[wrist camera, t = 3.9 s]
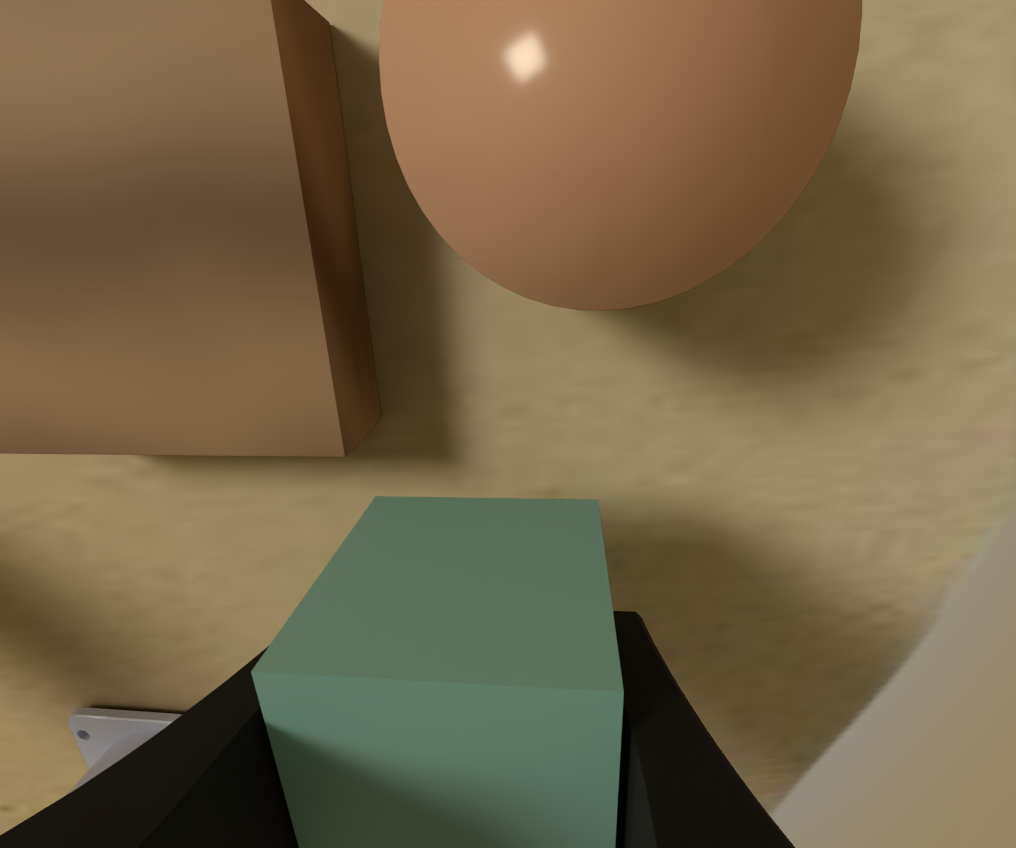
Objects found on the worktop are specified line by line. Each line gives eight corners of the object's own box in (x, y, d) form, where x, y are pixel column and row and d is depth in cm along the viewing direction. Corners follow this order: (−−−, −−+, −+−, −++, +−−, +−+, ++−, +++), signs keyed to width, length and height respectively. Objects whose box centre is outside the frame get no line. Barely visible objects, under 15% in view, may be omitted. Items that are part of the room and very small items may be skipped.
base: (380, 419, 14) (344, 456, 12) (85, 418, 15) (-3, 453, 13) (329, 22, 11) (264, -35, 9) (-42, 54, 12) (-190, 11, 10)
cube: (592, 676, 12) (610, 929, 7) (399, 665, 12) (312, 898, 8) (597, 500, 10) (623, 692, 6) (375, 496, 10) (251, 672, 6)
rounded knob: (717, 275, 12) (819, 302, 7) (464, 287, 13) (407, 318, 8) (745, -47, 10) (912, -301, 5) (440, -13, 10) (345, -212, 6)
